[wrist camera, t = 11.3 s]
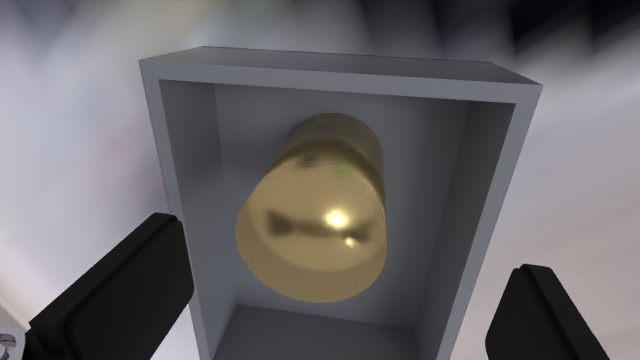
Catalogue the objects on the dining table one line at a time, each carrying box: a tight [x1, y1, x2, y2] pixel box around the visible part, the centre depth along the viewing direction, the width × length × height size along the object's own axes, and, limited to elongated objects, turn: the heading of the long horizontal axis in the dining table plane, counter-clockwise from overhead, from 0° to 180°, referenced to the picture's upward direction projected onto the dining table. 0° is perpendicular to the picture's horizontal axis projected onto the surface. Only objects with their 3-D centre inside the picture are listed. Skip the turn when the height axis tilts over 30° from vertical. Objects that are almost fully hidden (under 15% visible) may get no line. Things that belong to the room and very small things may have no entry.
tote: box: [139, 46, 543, 360], centre depth 17 cm, size 17×13×5 cm
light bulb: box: [235, 113, 387, 303], centre depth 14 cm, size 5×5×7 cm
